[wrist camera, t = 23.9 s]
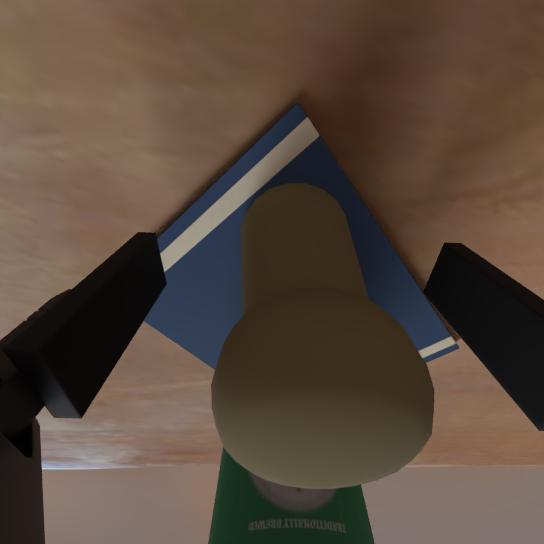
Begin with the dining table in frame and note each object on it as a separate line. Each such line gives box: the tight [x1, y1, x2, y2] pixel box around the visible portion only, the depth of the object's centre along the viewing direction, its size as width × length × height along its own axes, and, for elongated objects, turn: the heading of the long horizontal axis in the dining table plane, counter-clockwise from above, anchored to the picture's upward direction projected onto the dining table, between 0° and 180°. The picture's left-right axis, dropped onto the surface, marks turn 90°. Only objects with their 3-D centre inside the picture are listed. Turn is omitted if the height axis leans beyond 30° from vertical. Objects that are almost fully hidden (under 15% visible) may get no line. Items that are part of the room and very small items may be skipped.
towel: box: [144, 103, 459, 369], centre depth 18 cm, size 20×16×1 cm
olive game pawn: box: [211, 183, 434, 489], centre depth 10 cm, size 6×6×11 cm
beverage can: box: [208, 446, 374, 544], centre depth 16 cm, size 8×8×12 cm
